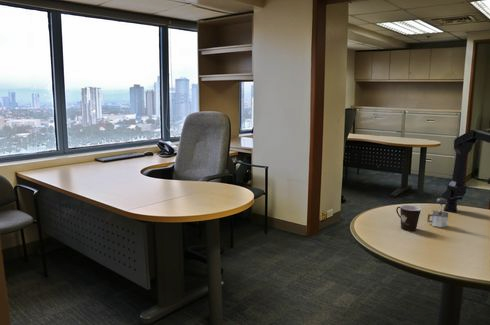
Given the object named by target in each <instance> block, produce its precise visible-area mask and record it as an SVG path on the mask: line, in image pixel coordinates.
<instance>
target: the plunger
mask: <svg viewBox="0 0 490 325" xmlns="http://www.w3.org/2000/svg"><path fill="white" fill-rule="evenodd" d="M436 203H437V204H439V210H438V211H439V214H441V213H442V212H443V205H445V204H447V199H443V198H442V197H438V198H436Z"/></svg>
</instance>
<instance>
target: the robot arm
mask: <svg viewBox="0 0 490 325" xmlns="http://www.w3.org/2000/svg"><path fill="white" fill-rule="evenodd" d="M478 141H482V142H485V143H488V144H490V132H486V131H482V130H480V129H470V130H468V131H467V132H464V133H463V134H462V135H459V136H458V137H455V139H454V142H453V150H454V152H455V161H454V166H453V172H452V179H451V181H450V182H449V184H448V185H447V188H446V190H445V191H444V192H443V193H442V194H441V198H443V199H447V204H444V206H443V212H451V213H458V201H460V200H463V198H464V196H465V194H467V188H468V187H467V185H465V184H464V175H465V169H466V164H467V159H468V158H467V157H468V155H469V153H470V152H471V151H472V148H473V146H474V144H475V143H478ZM487 185H490V177H488V179H487Z"/></svg>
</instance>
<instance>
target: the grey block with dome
mask: <svg viewBox="0 0 490 325" xmlns="http://www.w3.org/2000/svg"><path fill="white" fill-rule="evenodd" d="M439 211H440V210H432V213H431V214H430V213H427V220H426V221H427V223H430V225H431V226H432V227H434V228H438V229H447V228H448V221H449V219H448V218H449V213H448V211H442V213H441V214H439ZM430 219H431V220H430Z"/></svg>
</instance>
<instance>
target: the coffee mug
mask: <svg viewBox="0 0 490 325" xmlns="http://www.w3.org/2000/svg"><path fill="white" fill-rule="evenodd" d="M399 209H400V214H399V212H398V210H399ZM421 210H422V208H420V207H419V206H415V205H410V204H403V205H400V206H397V207H396V210H395V211H396V213H397V215H398V217H399V218H400V230H403V231H406V232H416V231H417V227H418V223H419V219H420V215H421Z"/></svg>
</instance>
